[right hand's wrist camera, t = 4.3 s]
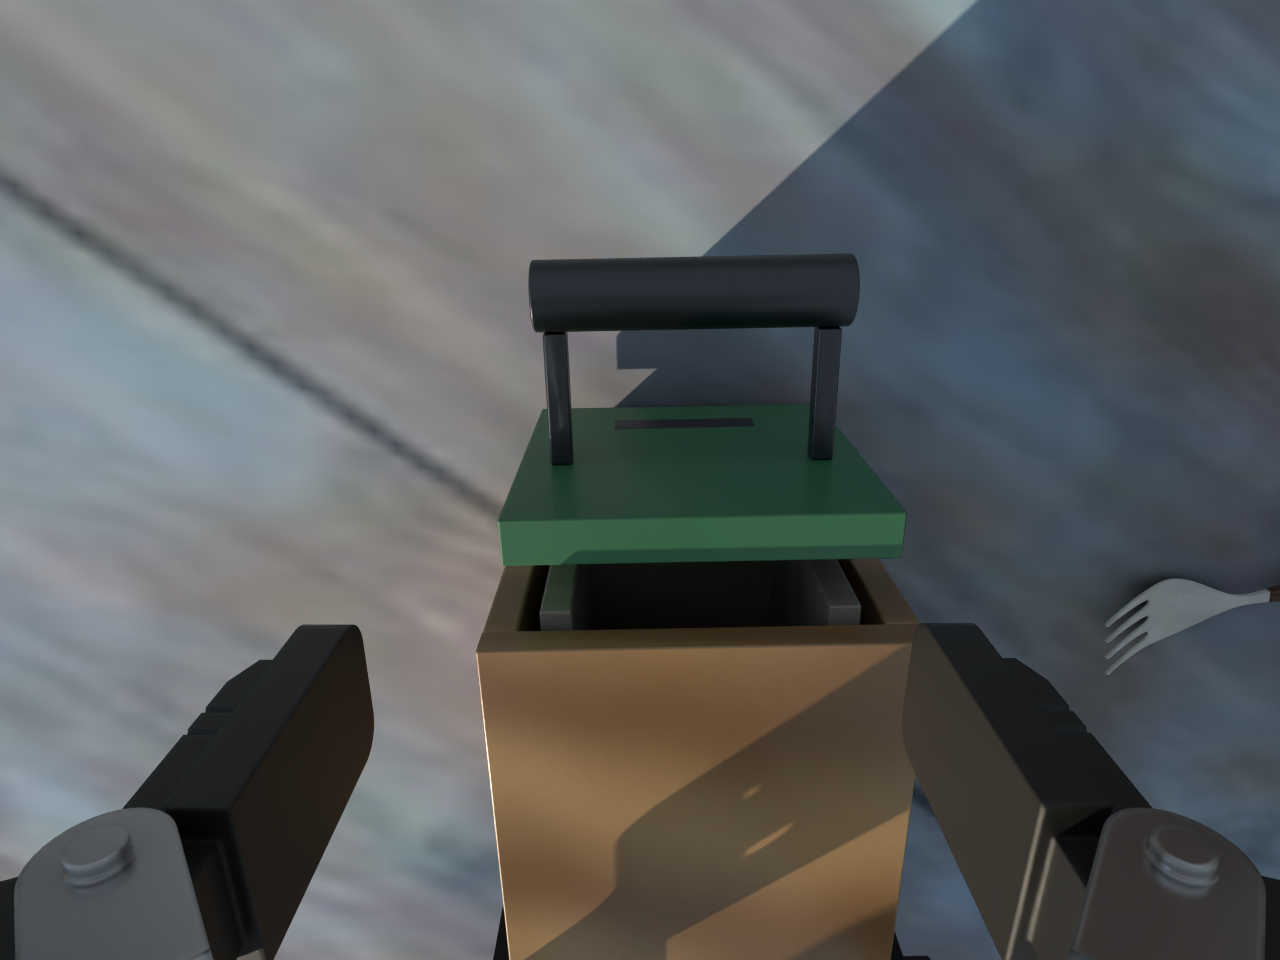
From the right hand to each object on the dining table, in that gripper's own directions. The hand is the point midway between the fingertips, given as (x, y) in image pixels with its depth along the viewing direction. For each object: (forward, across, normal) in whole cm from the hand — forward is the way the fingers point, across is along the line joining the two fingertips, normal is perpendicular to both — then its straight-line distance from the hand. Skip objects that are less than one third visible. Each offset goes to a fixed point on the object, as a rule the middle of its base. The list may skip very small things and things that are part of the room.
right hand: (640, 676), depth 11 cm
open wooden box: (+17, +2, -11) cm, 21 cm away
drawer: (+16, +1, -5) cm, 17 cm away
